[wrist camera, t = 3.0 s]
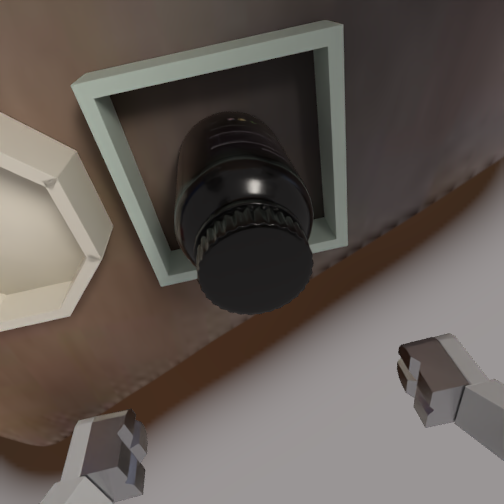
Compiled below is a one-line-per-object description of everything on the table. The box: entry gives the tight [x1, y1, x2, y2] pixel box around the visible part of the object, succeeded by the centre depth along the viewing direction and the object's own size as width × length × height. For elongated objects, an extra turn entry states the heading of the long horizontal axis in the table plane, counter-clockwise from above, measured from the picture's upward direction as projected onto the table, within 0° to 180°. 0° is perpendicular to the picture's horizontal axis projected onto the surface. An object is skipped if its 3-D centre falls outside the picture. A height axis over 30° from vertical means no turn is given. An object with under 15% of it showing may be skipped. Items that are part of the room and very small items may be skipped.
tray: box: [71, 20, 348, 287], centre depth 23 cm, size 14×14×3 cm
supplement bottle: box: [174, 112, 314, 315], centre depth 19 cm, size 7×7×12 cm
